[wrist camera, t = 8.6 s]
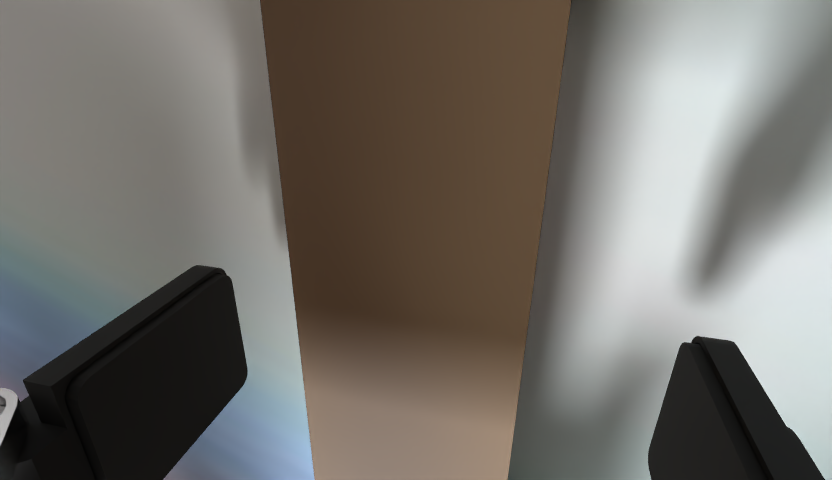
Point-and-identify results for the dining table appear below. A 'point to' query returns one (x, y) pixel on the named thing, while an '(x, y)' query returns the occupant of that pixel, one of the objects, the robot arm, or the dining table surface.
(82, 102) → the dining table surface
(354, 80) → the rail
